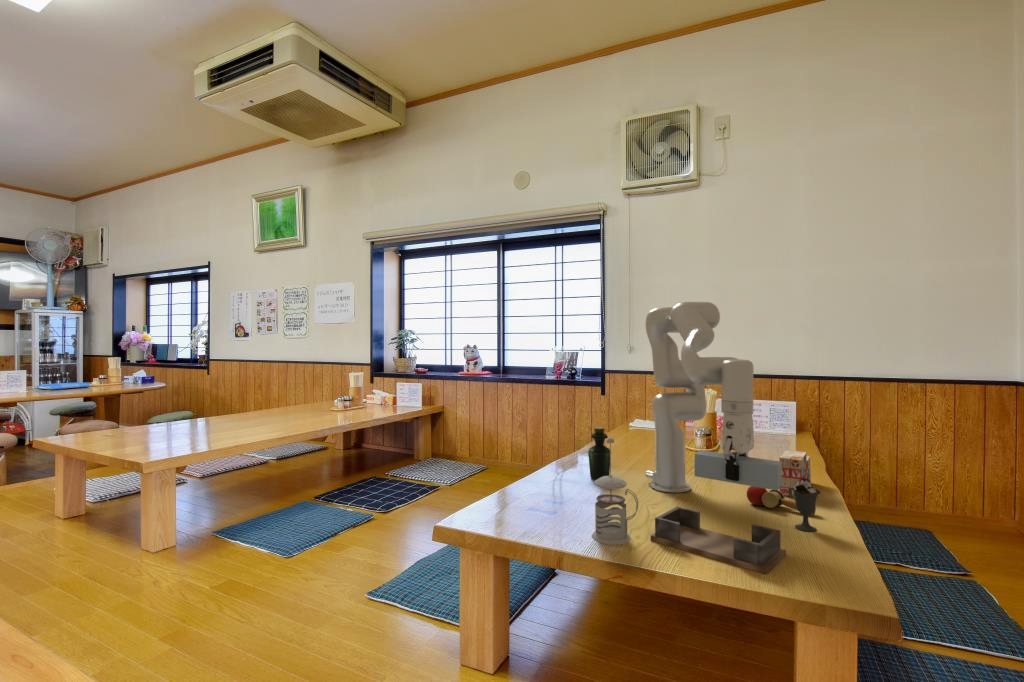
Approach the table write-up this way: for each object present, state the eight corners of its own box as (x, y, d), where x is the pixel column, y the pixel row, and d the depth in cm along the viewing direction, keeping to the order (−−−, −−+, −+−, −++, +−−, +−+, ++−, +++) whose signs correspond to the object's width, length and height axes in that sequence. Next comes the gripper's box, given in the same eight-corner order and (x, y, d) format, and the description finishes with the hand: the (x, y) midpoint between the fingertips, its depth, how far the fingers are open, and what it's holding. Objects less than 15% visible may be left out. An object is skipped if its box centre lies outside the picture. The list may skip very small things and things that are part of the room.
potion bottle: (610, 475, 187) (610, 425, 187) (612, 481, 179) (611, 429, 179) (587, 474, 188) (587, 425, 188) (588, 481, 180) (588, 429, 180)
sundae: (810, 523, 138) (809, 467, 138) (826, 533, 131) (825, 474, 131) (785, 524, 137) (785, 468, 137) (800, 533, 131) (800, 474, 131)
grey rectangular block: (694, 476, 137) (694, 453, 137) (700, 472, 141) (700, 450, 141) (777, 490, 125) (777, 465, 125) (781, 485, 129) (781, 461, 129)
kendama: (816, 516, 147) (750, 495, 159) (819, 496, 146) (752, 476, 158) (809, 528, 142) (742, 505, 153) (812, 507, 140) (743, 486, 152)
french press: (595, 527, 136) (595, 433, 136) (640, 533, 132) (640, 435, 132) (587, 541, 127) (586, 440, 127) (635, 548, 122) (634, 443, 122)
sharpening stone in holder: (650, 540, 127) (650, 517, 127) (675, 526, 137) (675, 505, 136) (766, 574, 108) (766, 547, 108) (785, 555, 118) (785, 531, 118)
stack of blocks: (790, 480, 180) (790, 445, 180) (810, 483, 176) (810, 447, 176) (779, 495, 162) (779, 456, 162) (801, 499, 159) (801, 459, 159)
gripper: (739, 413, 124) (739, 487, 124) (764, 405, 136) (763, 473, 136) (708, 409, 129) (708, 481, 129) (735, 402, 141) (734, 468, 142)
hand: (736, 476), depth 133 cm, fingers closed on grey rectangular block, 5 cm apart
